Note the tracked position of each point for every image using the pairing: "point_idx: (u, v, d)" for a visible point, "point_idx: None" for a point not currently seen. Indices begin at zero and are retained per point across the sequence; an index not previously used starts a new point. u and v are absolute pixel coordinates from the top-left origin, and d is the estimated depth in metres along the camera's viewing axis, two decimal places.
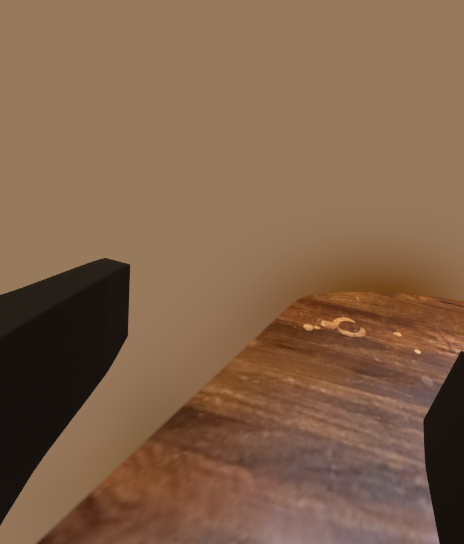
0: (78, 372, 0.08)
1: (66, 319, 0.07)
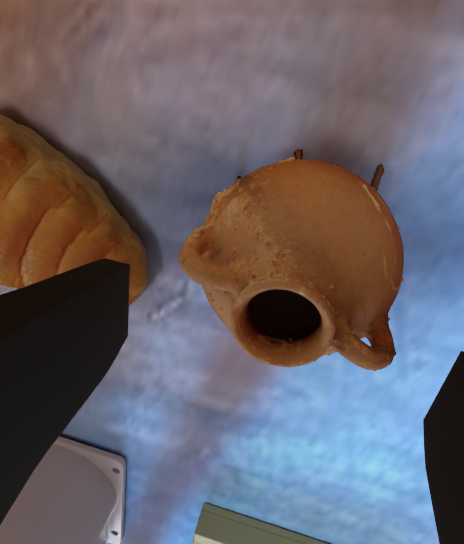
0: (78, 372, 0.08)
1: (66, 319, 0.07)
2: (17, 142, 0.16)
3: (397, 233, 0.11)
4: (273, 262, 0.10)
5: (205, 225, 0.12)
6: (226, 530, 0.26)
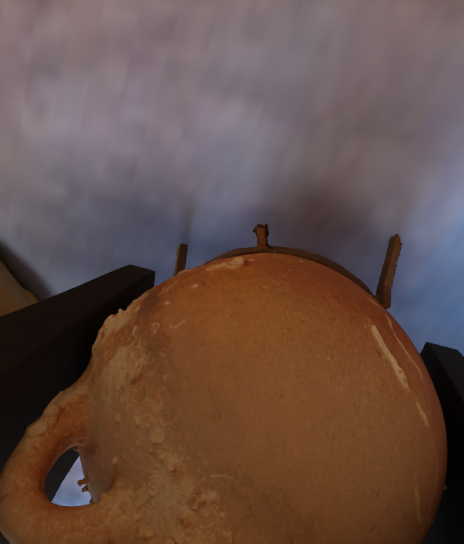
0: None
1: (97, 328, 0.07)
2: None
3: (438, 417, 0.06)
4: (181, 520, 0.05)
5: (74, 390, 0.06)
6: None
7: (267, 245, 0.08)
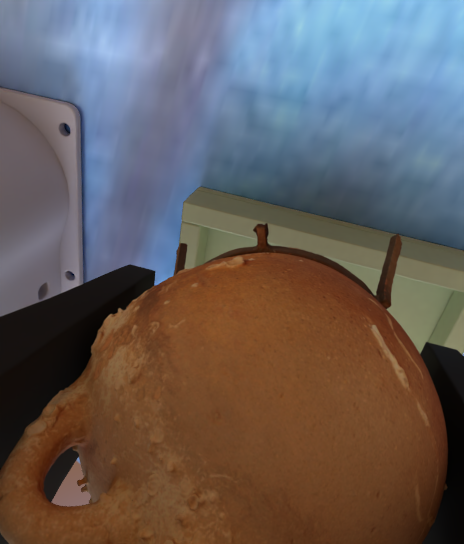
0: None
1: (97, 328, 0.07)
2: None
3: (439, 417, 0.06)
4: (180, 521, 0.05)
5: (73, 390, 0.06)
6: (233, 205, 0.17)
7: (267, 244, 0.08)
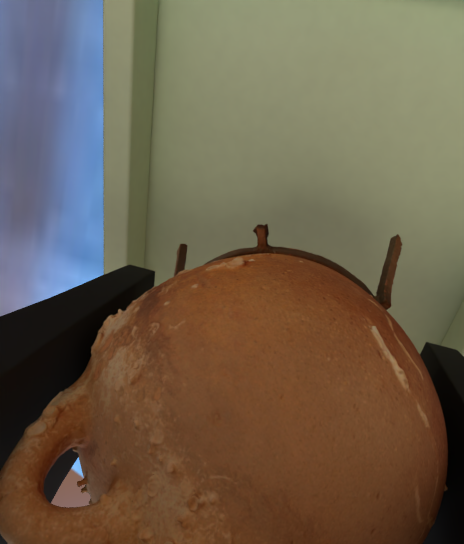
0: None
1: (97, 328, 0.07)
2: None
3: (439, 418, 0.06)
4: (180, 522, 0.05)
5: (73, 391, 0.06)
6: None
7: (267, 245, 0.08)
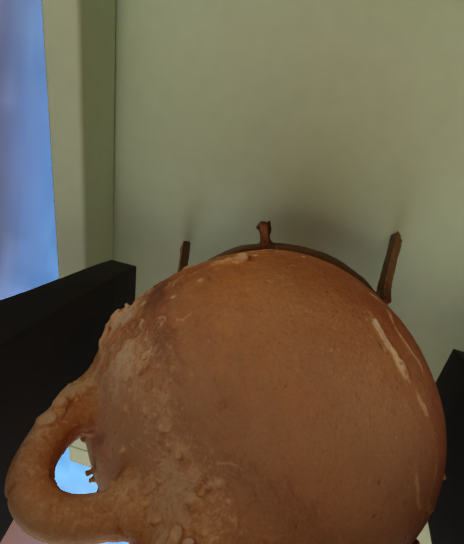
0: None
1: (74, 321, 0.07)
2: None
3: (438, 408, 0.06)
4: (188, 506, 0.05)
5: (82, 382, 0.06)
6: None
7: (270, 242, 0.08)
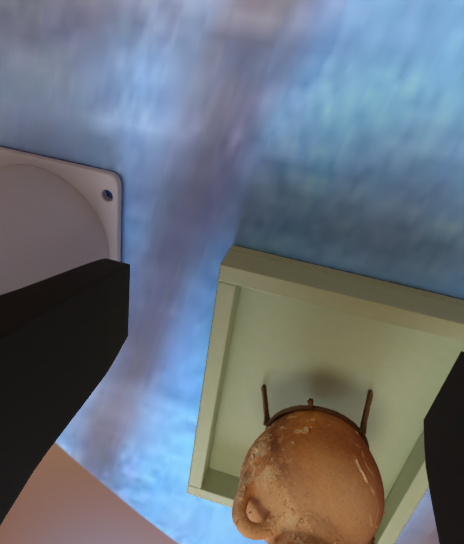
0: (78, 372, 0.08)
1: (66, 319, 0.07)
2: None
3: (379, 490, 0.17)
4: (296, 527, 0.15)
5: (247, 479, 0.17)
6: (265, 266, 0.18)
7: (312, 406, 0.19)
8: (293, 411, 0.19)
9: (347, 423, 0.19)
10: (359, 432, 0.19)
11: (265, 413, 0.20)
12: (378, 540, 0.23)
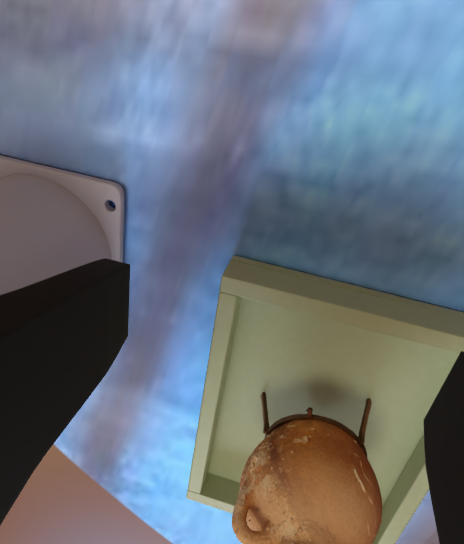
0: (78, 372, 0.08)
1: (66, 319, 0.07)
2: None
3: (377, 499, 0.17)
4: (295, 536, 0.16)
5: (247, 487, 0.17)
6: (266, 277, 0.18)
7: (312, 415, 0.19)
8: (292, 420, 0.19)
9: (346, 432, 0.19)
10: (357, 441, 0.19)
11: (265, 421, 0.21)
12: None
